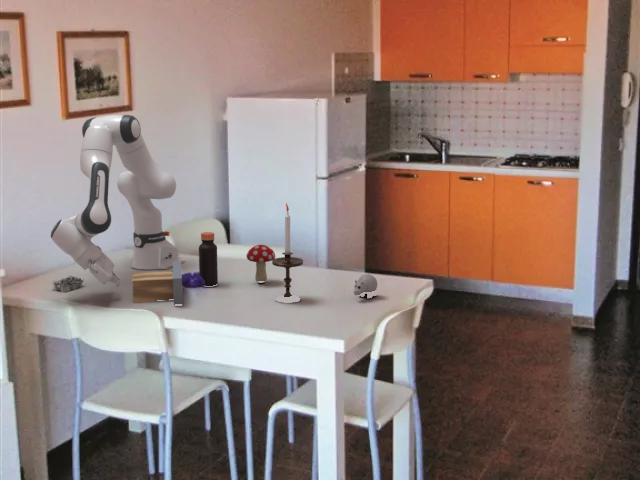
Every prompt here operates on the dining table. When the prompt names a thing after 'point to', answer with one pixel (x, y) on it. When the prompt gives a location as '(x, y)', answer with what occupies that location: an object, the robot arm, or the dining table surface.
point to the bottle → (208, 259)
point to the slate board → (177, 282)
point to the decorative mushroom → (260, 260)
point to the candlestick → (287, 256)
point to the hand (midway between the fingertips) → (119, 283)
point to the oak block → (152, 286)
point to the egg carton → (67, 284)
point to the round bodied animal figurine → (365, 284)
